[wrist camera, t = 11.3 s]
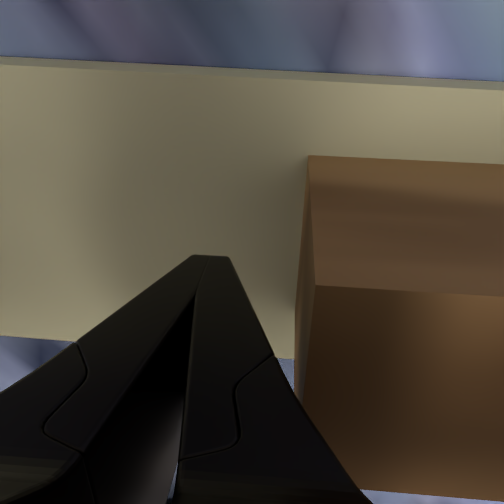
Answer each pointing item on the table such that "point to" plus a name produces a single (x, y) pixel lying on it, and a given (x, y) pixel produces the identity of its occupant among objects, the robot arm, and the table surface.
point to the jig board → (192, 175)
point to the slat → (404, 322)
